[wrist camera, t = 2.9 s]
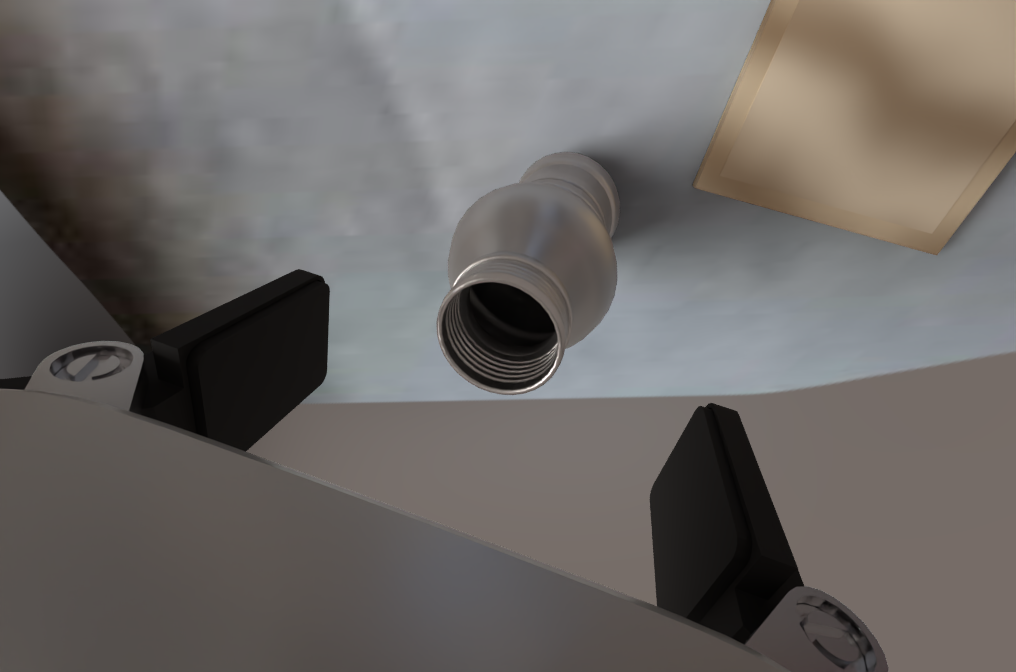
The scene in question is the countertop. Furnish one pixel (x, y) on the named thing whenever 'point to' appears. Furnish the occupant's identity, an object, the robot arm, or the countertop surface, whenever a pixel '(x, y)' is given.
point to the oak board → (871, 115)
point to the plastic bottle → (530, 274)
